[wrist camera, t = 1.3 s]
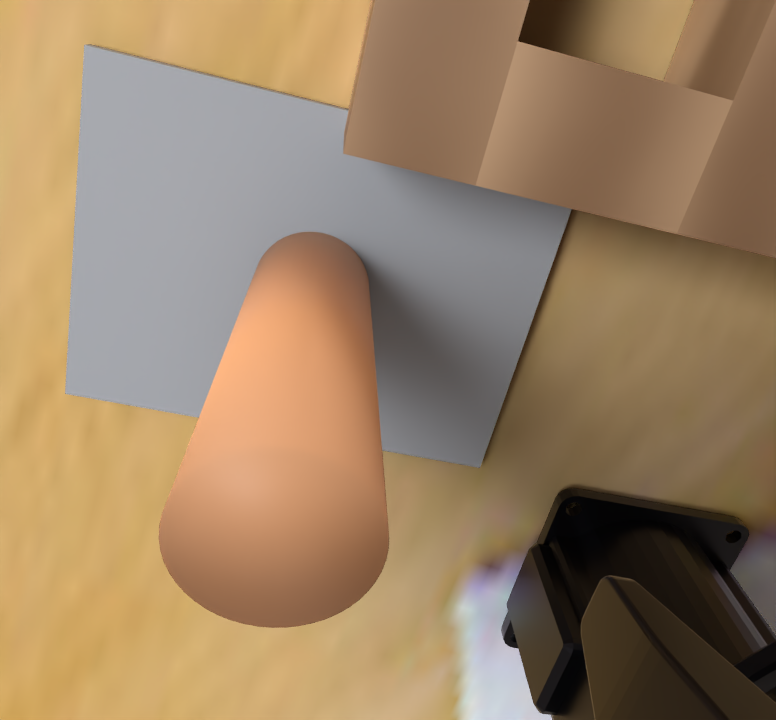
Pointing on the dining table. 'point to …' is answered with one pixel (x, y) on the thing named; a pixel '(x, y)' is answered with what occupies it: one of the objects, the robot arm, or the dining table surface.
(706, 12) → the hole block
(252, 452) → the peg
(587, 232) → the dining table surface
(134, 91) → the mat
